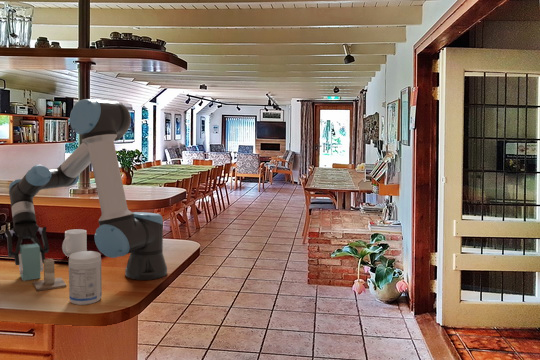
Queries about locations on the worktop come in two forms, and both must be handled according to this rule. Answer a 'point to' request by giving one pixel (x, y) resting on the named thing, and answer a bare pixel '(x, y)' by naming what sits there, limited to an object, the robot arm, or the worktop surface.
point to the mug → (74, 241)
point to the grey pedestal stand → (49, 278)
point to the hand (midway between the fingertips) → (31, 270)
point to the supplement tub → (85, 277)
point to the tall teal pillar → (30, 261)
